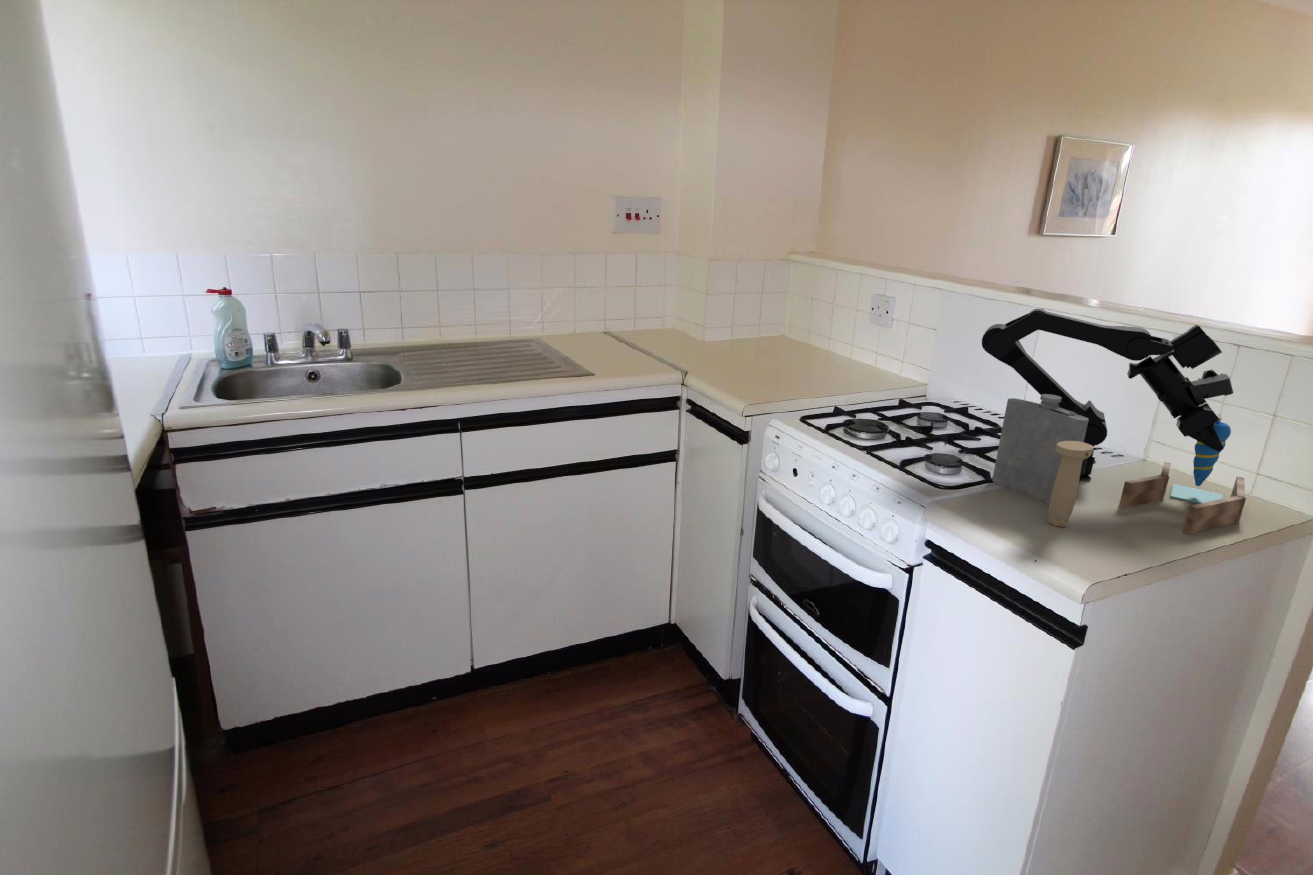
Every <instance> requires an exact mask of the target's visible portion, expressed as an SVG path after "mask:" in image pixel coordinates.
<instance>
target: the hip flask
mask: <svg viewBox="0 0 1313 875" xmlns="http://www.w3.org/2000/svg"><path fill="white" fill-rule="evenodd" d="M1061 399H1062V398H1061V397H1059V396H1056V395H1051V394H1042V395H1040V399H1039V400H1040V403H1038V402H1034V401H1030V400H1025V399H1021V398H1013V397H1011V398H1007V402H1006V406H1005V412H1004V417H1003V422H1002V428H1001V432H1000V437H999V441H998V442H999V444H998V449H997V453H996V458H995V463H994V468H993V474H992V479H991V482H992V481H993V482H992V483H994V484H996V485H999V486H1002V487H1006V488H1008V489H1012V490H1014V491H1017V492H1021V493H1022V494H1025V495H1028V496H1031V497H1033V498H1036V499H1038V500H1041V501H1043V502H1046V503H1048V504H1049V505H1050V499H1051V494H1052V490H1053V487H1054V483H1055V480H1056V477H1057V473H1058V470H1059V466H1060V463H1061V458H1062V456H1061V455H1060V454H1058V453H1057V452H1056V445H1057V443H1059V442H1062V441H1079V442H1084V438H1085V434H1086V430H1087V425H1088V421H1089V419H1088V418H1087V417H1084V416H1081V415H1078V414H1076V413H1074V412H1071V411H1068V410H1066V409H1063V408H1060V407H1059V404H1058V403H1060V402H1061Z"/></svg>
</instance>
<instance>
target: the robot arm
mask: <svg viewBox="0 0 1313 875" xmlns="http://www.w3.org/2000/svg"><path fill="white" fill-rule="evenodd" d="M1036 331H1042V332H1046V333H1050V334H1054V335H1058V336H1061V337H1066V338H1069V339H1074V340H1078V341H1081V342H1086V343H1089V344H1093V345H1098V346H1099V347H1102V348H1104V349H1106V350H1107V351H1110V352H1112V353H1114V354H1116V355H1119V356H1121V357H1123V358H1125V359H1128V360H1130V361H1136V362H1137V361H1139V362H1137V363H1133V362H1129V363H1128V366H1129V368H1128V370H1127V373H1126V374H1127V378H1128V379H1129V380H1130V379H1133V378H1135V377H1137V376H1138V375H1140V376H1141V378H1142V379H1143V380H1144V381H1145V383H1146V384H1147V385H1148V386H1149V388H1150V389H1151V390H1152V392H1153V393H1154V394H1155V395H1156V397H1157V399H1158V400H1159V402H1161V403H1162V404H1163V405H1164V406H1165V408H1166V409H1167V410H1168V412H1169V414H1170V416H1172V418H1173V419H1176V418H1177V419H1176V427H1177V430H1179V432H1180V433H1181V434H1182V435H1183V437H1190V438H1192V439H1194V440H1196V442H1197V441H1199V442H1201V443H1203V444H1205V445H1207V446H1208V447H1210V448H1212V449H1214V450H1216V451H1218V452H1219V451H1221V450H1222V451H1223V450H1224V448H1225V447H1224V448H1223V446H1222V444H1221V442H1220V440H1219V437H1218V435H1217V433H1216V431H1215V429H1214V423H1215V422H1216V421H1217V420H1218V419H1219V418H1220V417H1219V416H1218V415H1217V414H1216V413H1215V411H1213V409H1212V408H1211V406H1210V405H1209V404H1208V403H1207V400H1206V399H1211V398H1216V397H1221V396H1230V395H1233V394H1234V390H1233V386H1232V382H1231V377H1230V376H1229V375H1228V374H1226V373H1220V374H1218V373H1217V372H1216V371H1215V370H1214V369H1208V370H1205V371H1204V370H1203V373H1202V376H1201V378H1200V377H1199V378H1198V379H1196V380H1194V381H1193V380H1192V381H1191V380H1190V378H1189V377H1188V376H1186V377H1185V375H1183V373H1182V371H1180V369H1179V367H1177V365H1176V364H1175V363H1174V362H1173V361H1172V359H1171V358H1170V357H1171V356H1172V358H1174V359H1175V361H1176V362H1177V364H1179V366H1181V368H1182V369H1185V368H1186V369H1189V368H1191V370H1193V369H1195V368H1197V367H1199V366H1200V365H1202V364H1204V363H1206V362H1208V361H1210V360H1211V359H1213V358H1215V357H1216V356H1219V355H1220V354H1222V353H1223V351H1222V349H1220V347H1219V346H1218V344H1217V343H1216V342H1215V341H1214V340H1213V338H1211V337H1210V336H1209V335H1207V333H1206V332H1205V331H1204V330H1203V329H1202V327H1201V326H1200V325H1199V324H1195V325H1194V326H1192V327H1190V328H1189V329H1188V330H1187V331H1185V332H1184V333H1182V334H1180V335H1177V337H1175V338H1173V339H1172V340H1170V339H1167V338H1165V337H1158V336H1154V335H1152V334H1151V333H1150V331H1148V330H1147V328H1146V329H1145V328H1143V327H1140V326H1139V327H1137V326H1127V325H1126V326H1125V325H1104V324H1100V323H1096V322H1091V321H1088V320H1083V319H1079V318H1076V317H1071V316H1067V315H1062V314H1060V313H1055V312H1051V311H1046V310H1045V309H1043V308H1034V309H1032V310H1031V311H1030V312H1028V313H1026V314H1024V315H1021V316H1019V317H1017V318H1015V319H1011V321H1009V322H1007V323H995V324H993V325H991V326H989V327H988V328H987V329H986V330H985V332H984V334H983V335H982V338H981V347H982V349H983V350H984V351H985V352H986V353H987V354H989V355H990V356H991V357H993V358H994V359H996V360H997V361H999V362H1001V363H1004V364H1005V365H1007V366H1009V367H1011V368H1012V369H1013V370H1014V371H1015V372H1017V374H1018V375H1019V376H1020V377H1022V378H1023V379H1024V381H1025V382H1026V383H1027V384H1029V385H1030V387H1032V388H1033V389H1034V390H1035V391H1036V392H1037V393H1038V394H1039V395H1040V396H1041V395H1042V394H1051V395H1056V396H1059V397H1061V398H1062V399H1061V402H1060V403H1058V404H1059V407H1060V408H1063V409H1066V410H1068V411H1071V412H1074V413H1076V414H1078V415H1081V416H1084V417H1087V418H1088V419H1089V421H1088V425H1087V430H1086V434H1085V438H1084V443H1087V444H1090V445H1092V446H1094V447H1095V446H1099V445H1100V444H1102V443H1103V442H1104V441H1106V438H1107V436H1108V428H1107V421H1106V417H1105V413H1104V412H1103V411H1100V410H1099V409H1097V407H1096V406H1095V405H1094V404H1093V402H1092V400H1088V401H1087V402H1086V403H1085V404H1084V403H1082V402H1080V401H1078V400H1077V399H1075V398H1074V397H1073V396H1072V395H1071V394H1070V393H1069V392H1068V391H1067V390H1066V389H1065V388H1064V387H1063V386H1061V384H1059V383H1058V382H1057V381H1056V380H1055V379H1054V378H1053V376H1051V375H1050V374H1049V373H1048V372H1047V371H1046V370H1045V369H1044V368H1043V367H1042V366H1040V364H1039V363H1038V362H1036V360H1035V359H1033V357H1031V356H1030V355H1029V353H1027V351H1026V350H1025V348H1024V346H1023V345H1022V343H1021V341H1020V340H1022V339H1024V338H1025V337H1027V336H1029V335H1030V334H1032V333H1035V332H1036ZM1153 356H1156V357H1154V358H1153ZM1218 417H1219V418H1218ZM1222 451H1221V452H1222ZM1094 452H1095V449H1093V453H1092V454H1091V456H1089V457H1088V458H1086V459H1083V462H1082V466H1081V472H1080V478H1079V480H1080V481H1081V480H1083V481H1092V477H1091V476H1090V475H1092V473H1093V467H1094V463H1095V459H1096V457H1095V456H1094Z"/></svg>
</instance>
